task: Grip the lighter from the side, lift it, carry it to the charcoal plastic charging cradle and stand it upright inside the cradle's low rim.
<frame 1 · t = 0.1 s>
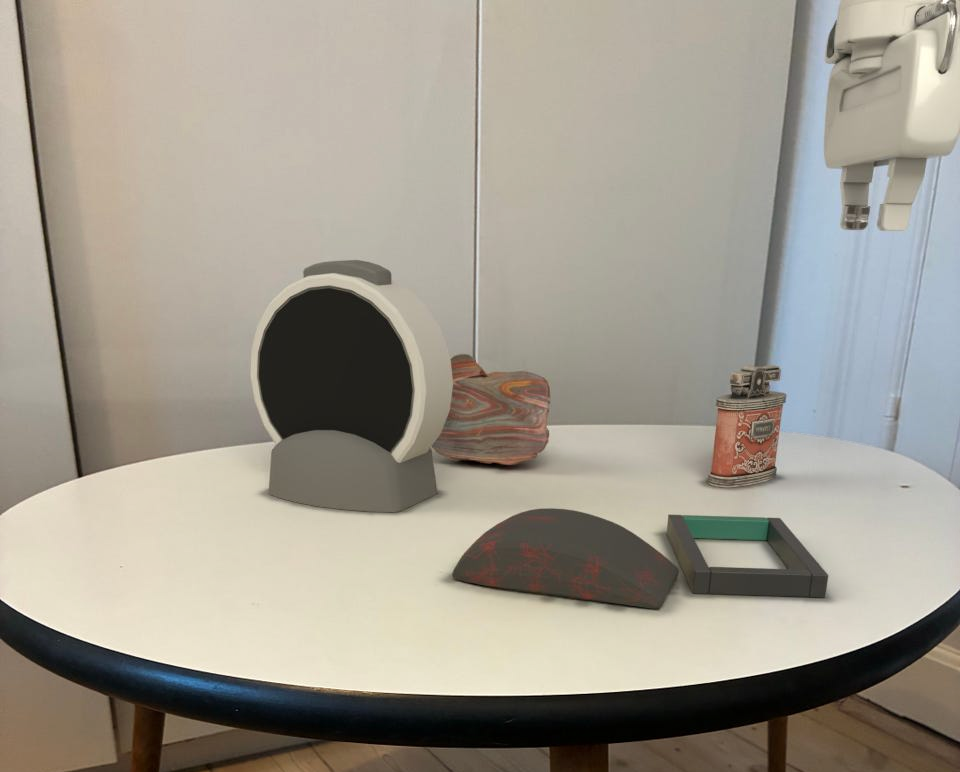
hand: (871, 230, 77), 21 cm above the table, tool pointing down, fingers open, 8 cm apart
lighter: (741, 481, 93), on the table
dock: (738, 563, 70), on the table
alarm clock: (353, 495, 86), on the table
stone: (490, 462, 98), on the table
computer mouse: (564, 584, 66), on the table
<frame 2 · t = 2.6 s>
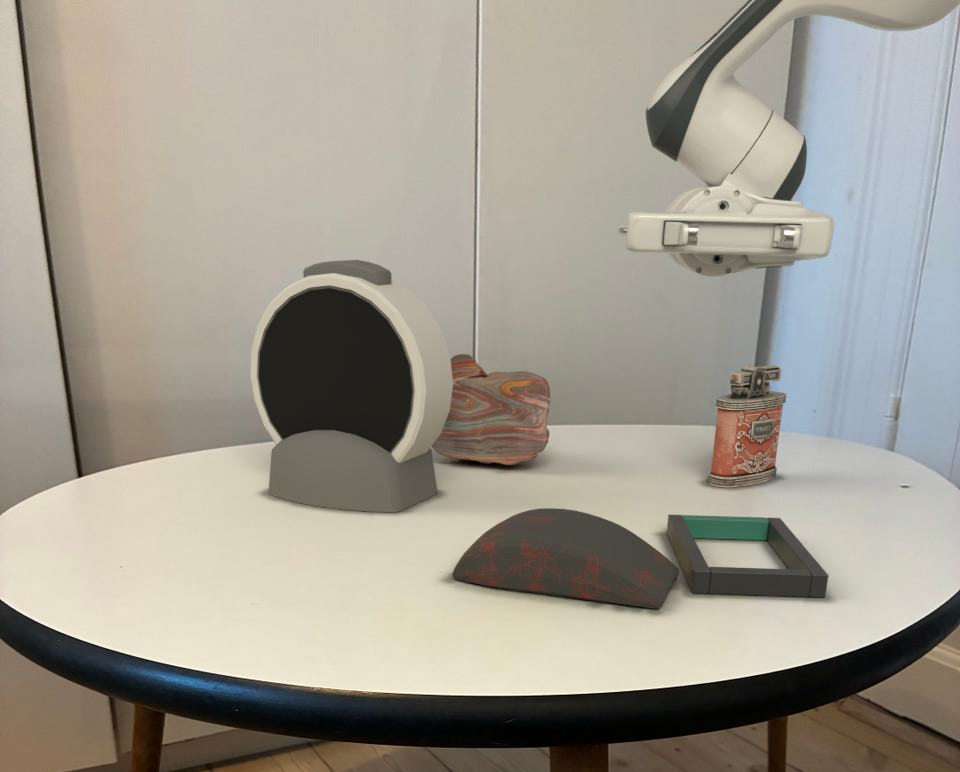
hand: (740, 236, 96), 20 cm above the table, tool horizontal, fingers open, 8 cm apart
nothing on the table moved.
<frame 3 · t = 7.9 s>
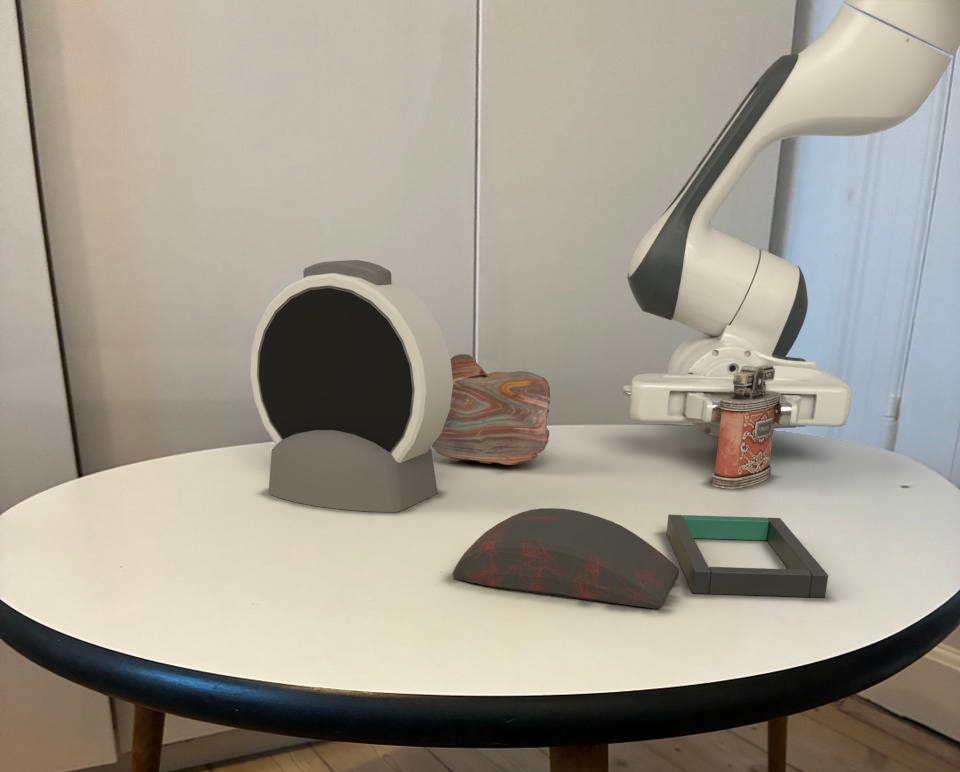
hand: (752, 414, 90), 6 cm above the table, tool horizontal, fingers closed on lighter, 5 cm apart
lighter: (741, 481, 93), on the table, touching gripper
everything else where it was.
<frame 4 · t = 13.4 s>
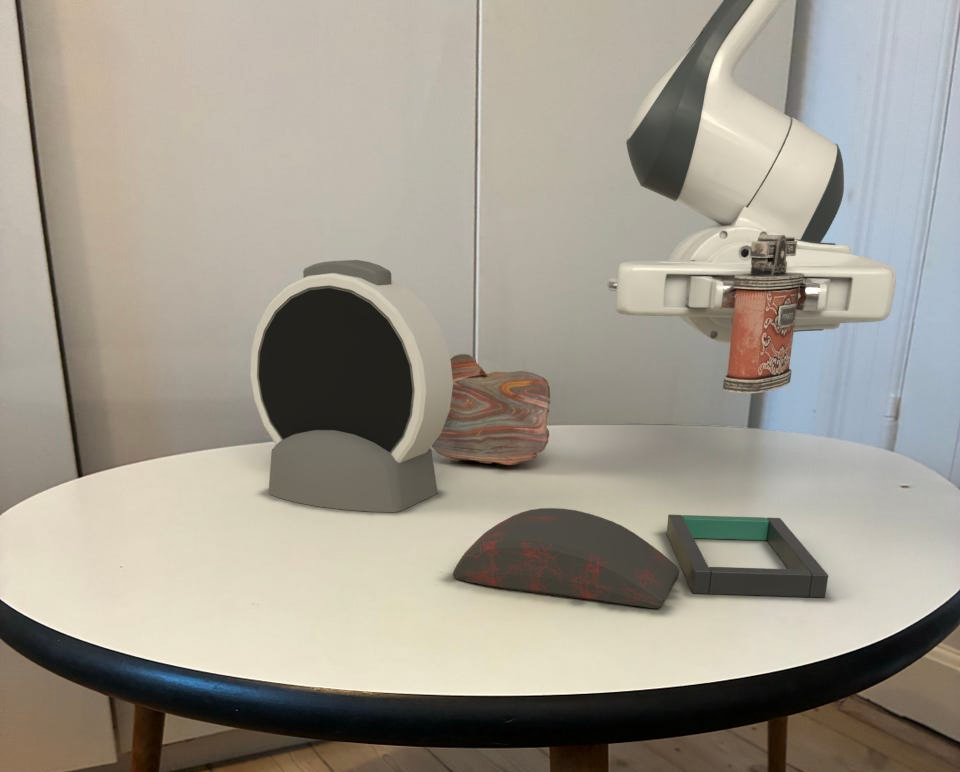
hand: (771, 297, 70), 17 cm above the table, tool horizontal, fingers closed on lighter, 5 cm apart
lighter: (756, 388, 73), point 11 cm above the table, touching gripper
everything else where it was.
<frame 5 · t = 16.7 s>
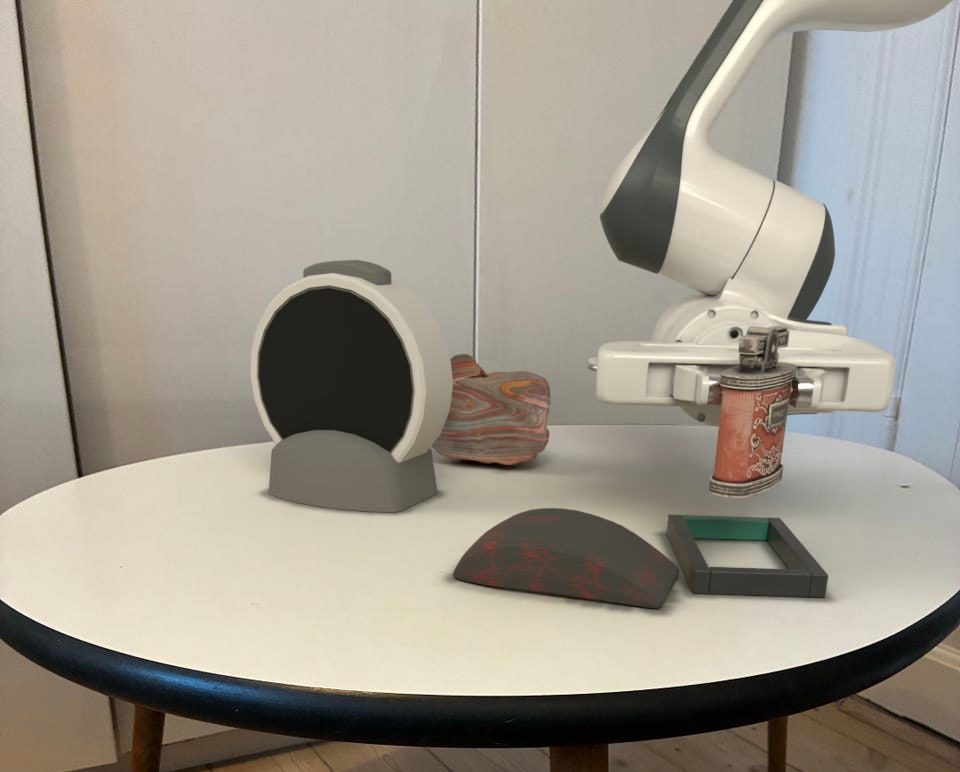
hand: (761, 393, 65), 11 cm above the table, tool horizontal, fingers closed on lighter, 5 cm apart
lighter: (745, 487, 68), point 5 cm above the table, touching gripper
everything else where it was.
when the fingers open (6 cm above the table, at t = 19.3 s): lighter stays where it is, resting in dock.
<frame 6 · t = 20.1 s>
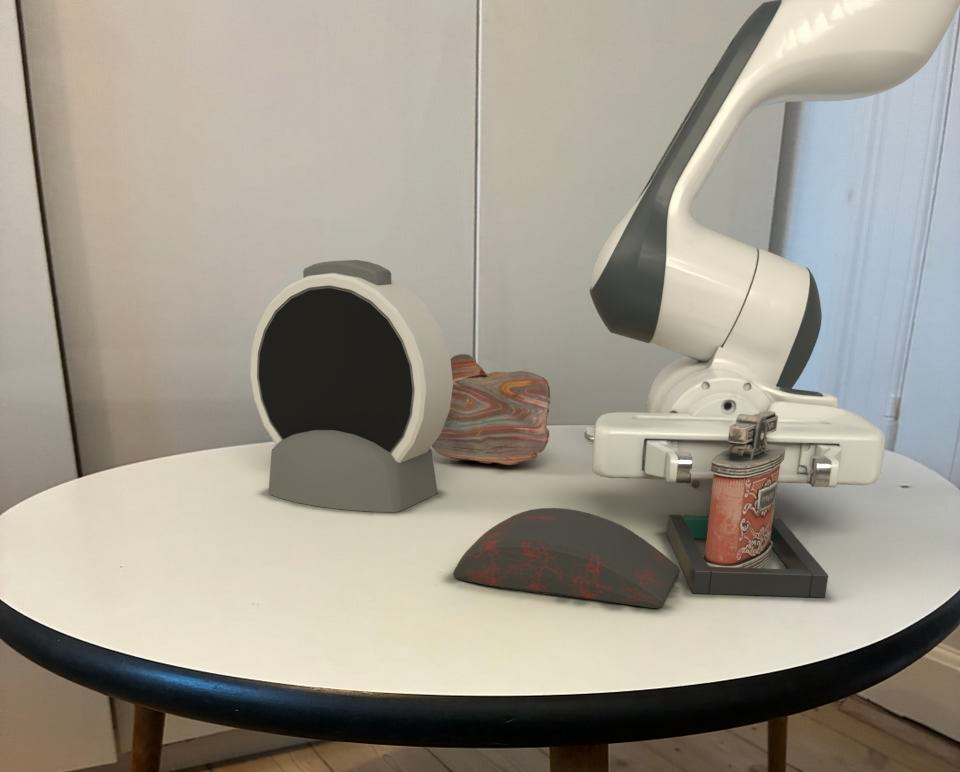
hand: (753, 473, 66), 6 cm above the table, tool horizontal, fingers open, 8 cm apart
lighter: (736, 565, 70), resting in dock
everything else where it was.
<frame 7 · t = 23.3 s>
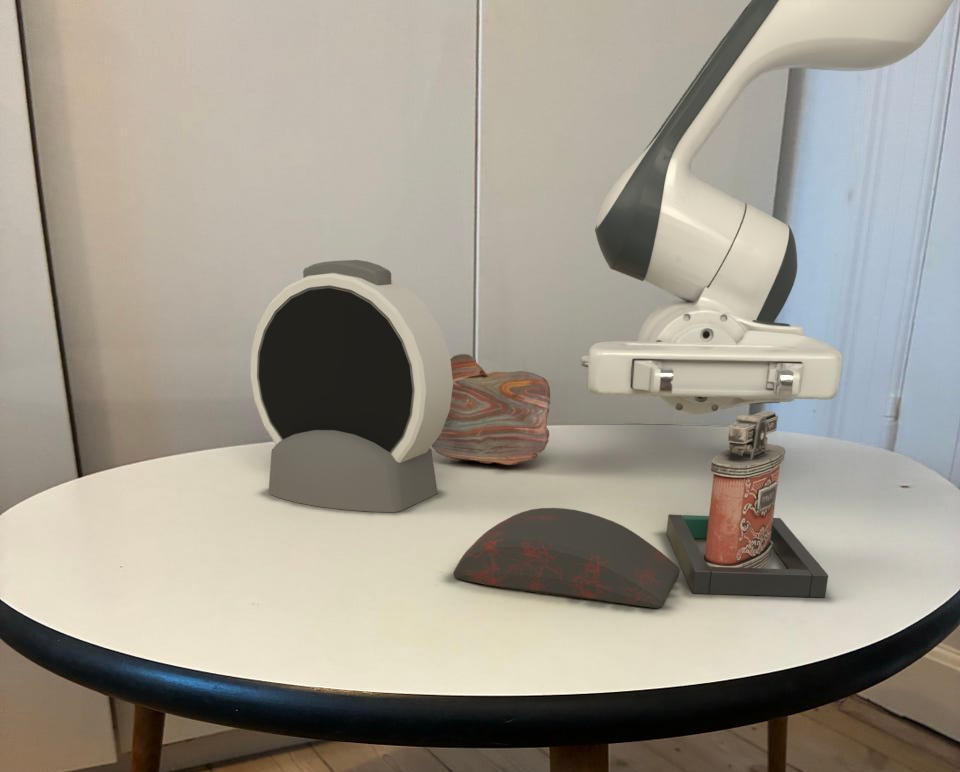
hand: (726, 383, 77), 10 cm above the table, tool horizontal, fingers open, 8 cm apart
nothing on the table moved.
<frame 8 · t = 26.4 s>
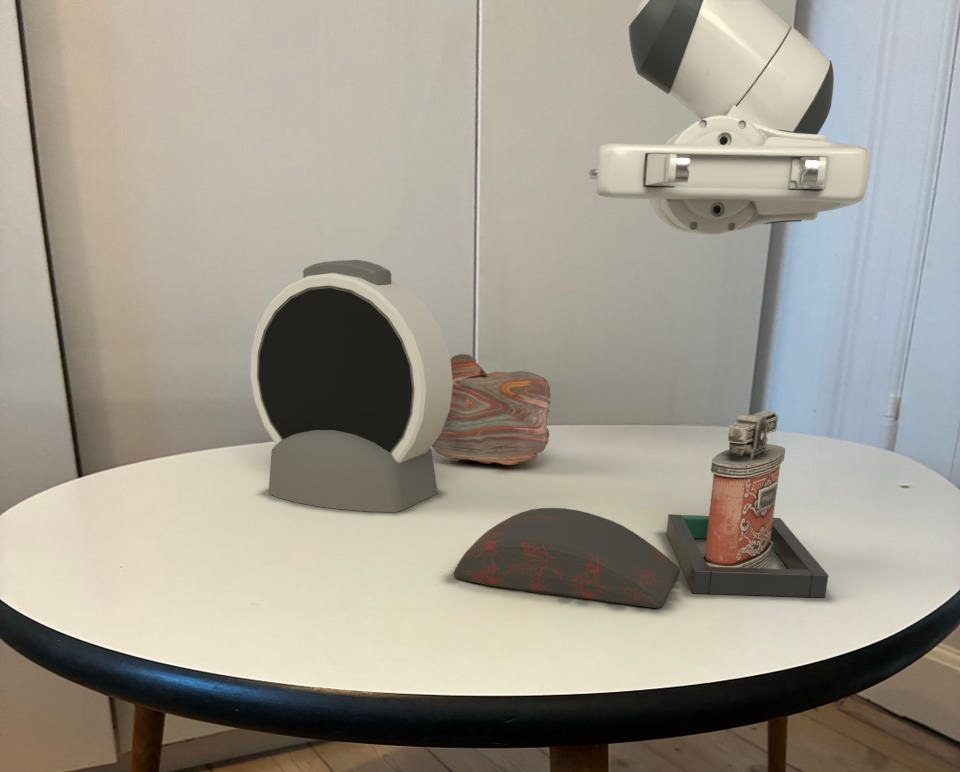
hand: (747, 169, 71), 25 cm above the table, tool horizontal, fingers open, 8 cm apart
nothing on the table moved.
at the end: lighter 0.2 cm off-centre on the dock, point 0.0 cm above the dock's base; lighter tilted 0°; the gripper is holding nothing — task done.
